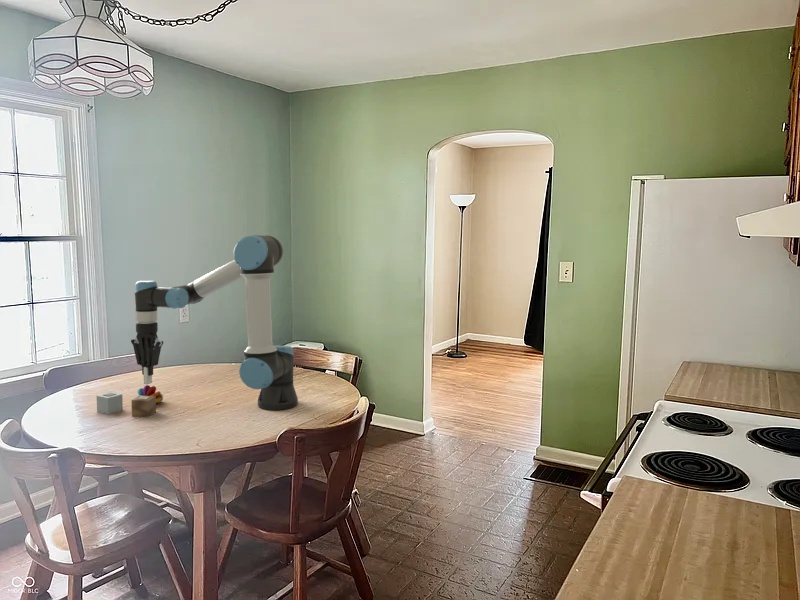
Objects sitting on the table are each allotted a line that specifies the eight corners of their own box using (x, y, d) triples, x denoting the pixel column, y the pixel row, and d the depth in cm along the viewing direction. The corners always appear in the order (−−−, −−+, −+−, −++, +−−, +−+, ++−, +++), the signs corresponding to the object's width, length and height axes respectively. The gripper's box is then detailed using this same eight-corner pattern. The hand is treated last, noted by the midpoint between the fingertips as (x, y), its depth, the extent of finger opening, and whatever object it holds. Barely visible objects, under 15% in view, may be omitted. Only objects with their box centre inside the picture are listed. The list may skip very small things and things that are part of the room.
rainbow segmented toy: (153, 408, 220) (153, 389, 219) (130, 406, 222) (129, 387, 221) (166, 402, 228) (166, 383, 228) (144, 400, 230) (143, 381, 229)
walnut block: (156, 412, 215) (155, 395, 215) (148, 417, 209) (148, 400, 209) (139, 411, 216) (139, 395, 215) (131, 416, 210) (131, 399, 209)
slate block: (122, 410, 217) (122, 393, 216) (108, 414, 211) (107, 397, 211) (111, 407, 219) (111, 391, 219) (97, 411, 214) (96, 395, 213)
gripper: (168, 321, 223) (169, 382, 226) (139, 319, 227) (140, 379, 229) (154, 324, 216) (155, 387, 219) (125, 322, 220) (126, 384, 222)
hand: (147, 383), depth 224 cm, fingers closed
